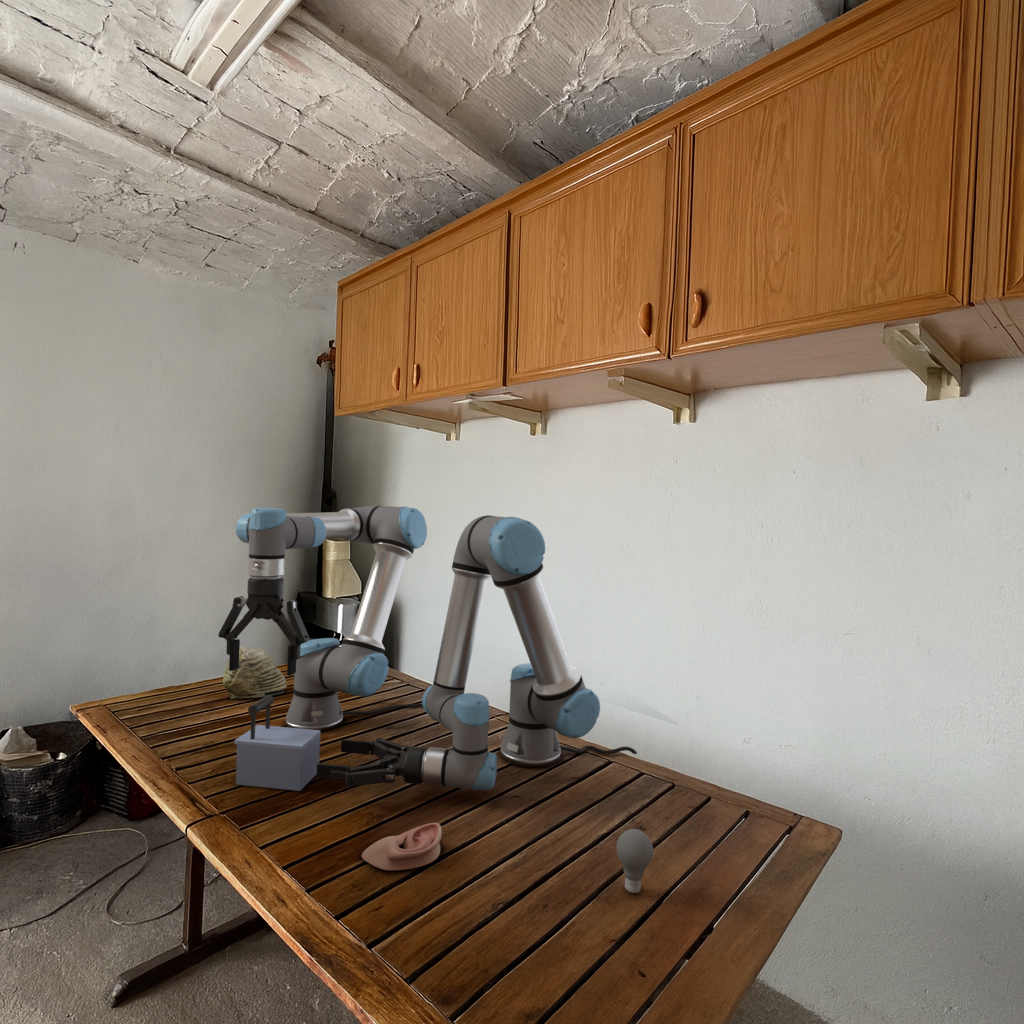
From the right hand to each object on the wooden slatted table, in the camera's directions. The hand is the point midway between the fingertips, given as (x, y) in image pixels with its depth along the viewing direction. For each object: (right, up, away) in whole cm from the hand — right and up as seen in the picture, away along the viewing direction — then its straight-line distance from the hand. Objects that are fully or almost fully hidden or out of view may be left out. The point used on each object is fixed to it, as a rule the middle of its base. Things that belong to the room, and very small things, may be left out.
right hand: (330, 757), depth 139 cm
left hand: (-16, +18, +3) cm, 24 cm away
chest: (-12, -6, +3) cm, 14 cm away
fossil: (-41, -3, +59) cm, 72 cm away
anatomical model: (+20, -8, -25) cm, 33 cm away
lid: (-12, +3, +3) cm, 13 cm away
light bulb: (+60, -10, -33) cm, 69 cm away
